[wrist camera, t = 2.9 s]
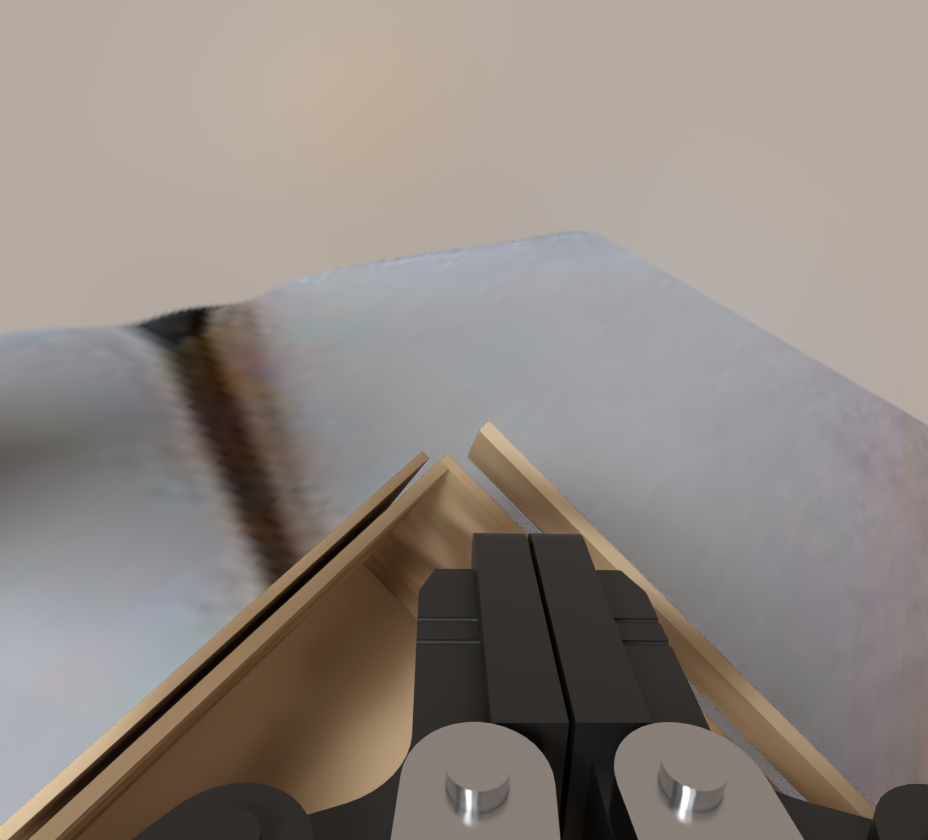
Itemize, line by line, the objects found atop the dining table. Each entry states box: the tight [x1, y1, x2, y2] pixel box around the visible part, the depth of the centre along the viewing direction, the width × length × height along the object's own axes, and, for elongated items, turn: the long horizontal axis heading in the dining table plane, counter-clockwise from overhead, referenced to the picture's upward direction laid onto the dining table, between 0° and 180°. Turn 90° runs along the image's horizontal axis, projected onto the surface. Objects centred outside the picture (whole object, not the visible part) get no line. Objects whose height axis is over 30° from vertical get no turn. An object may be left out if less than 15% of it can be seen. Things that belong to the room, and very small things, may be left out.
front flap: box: [467, 421, 875, 819], centre depth 25 cm, size 21×10×1 cm
